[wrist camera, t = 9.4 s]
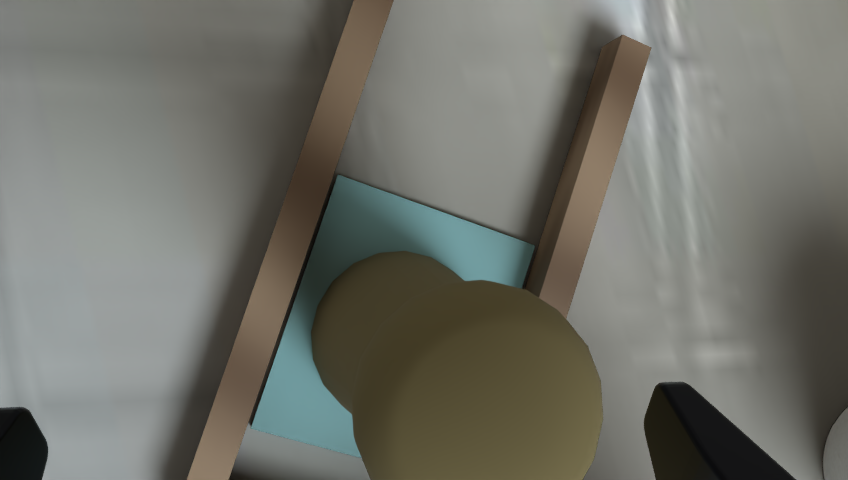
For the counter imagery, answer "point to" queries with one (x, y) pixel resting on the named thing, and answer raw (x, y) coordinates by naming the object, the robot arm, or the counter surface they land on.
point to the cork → (455, 374)
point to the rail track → (392, 247)
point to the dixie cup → (837, 450)
